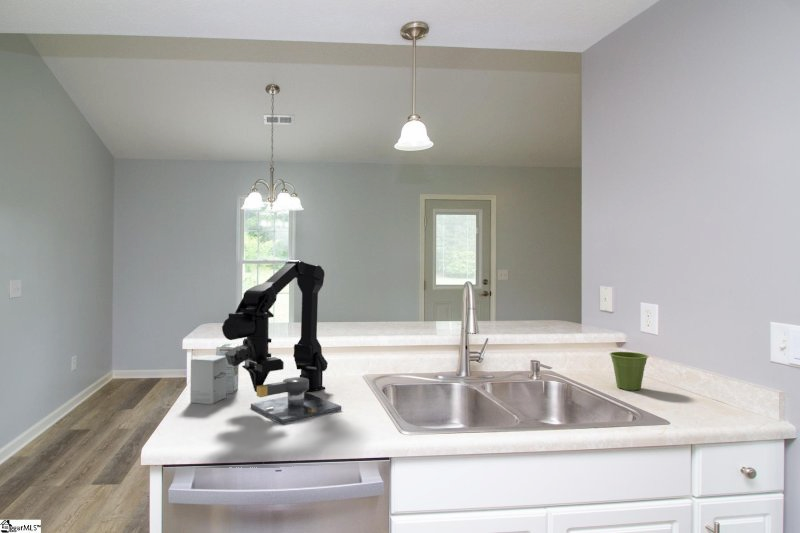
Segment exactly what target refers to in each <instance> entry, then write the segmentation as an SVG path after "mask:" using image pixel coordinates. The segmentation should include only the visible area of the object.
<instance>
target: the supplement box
mask: <svg viewBox="0 0 800 533" xmlns="http://www.w3.org/2000/svg"><path fill="white" fill-rule="evenodd" d="M189 393H190V399H189V400H190V402H189V403H192V404H193V403H194V404H203V405H205V404H206V405H213V404H215V403H217V402H219V401H221V400H223V399H226V398H227V394H226V356H216V355H215V354H214V355H211V354H210V355H209V354H207V355H202V356H199V357H194V358H193V359H190V392H189Z"/></svg>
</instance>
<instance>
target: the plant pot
mask: <svg viewBox="0 0 800 533" xmlns="http://www.w3.org/2000/svg"><path fill="white" fill-rule="evenodd" d="M609 355H610V357H611V362H612V364H613V370H614V377H615V384H616V387H617V388H618V389H622V390H625V391H631V392H634V391H641V389H642V384H643V379H644V378H643V377H644V371H645V366H646V364H647V361H648V358H649V354H648V355H647V353H646V354H645V353H641V352H633V351H612V352H610V353H609Z"/></svg>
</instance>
